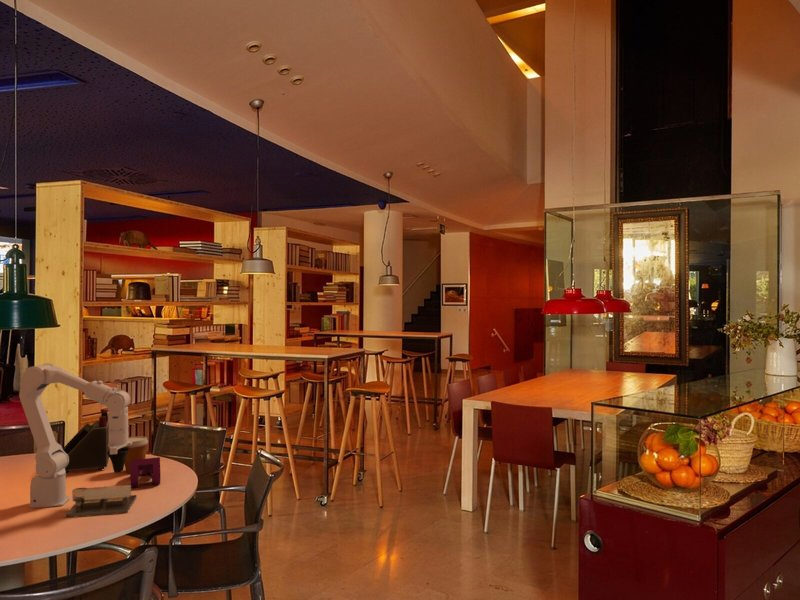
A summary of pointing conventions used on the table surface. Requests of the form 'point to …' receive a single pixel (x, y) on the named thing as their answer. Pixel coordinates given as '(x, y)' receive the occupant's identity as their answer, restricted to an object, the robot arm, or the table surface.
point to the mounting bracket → (144, 470)
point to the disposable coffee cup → (135, 450)
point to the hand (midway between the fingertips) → (118, 471)
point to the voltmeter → (89, 446)
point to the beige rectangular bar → (101, 492)
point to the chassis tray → (101, 506)
